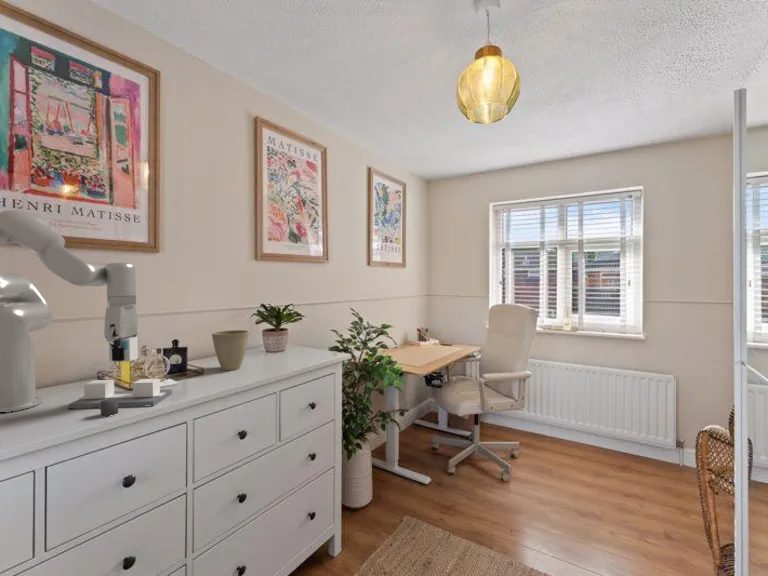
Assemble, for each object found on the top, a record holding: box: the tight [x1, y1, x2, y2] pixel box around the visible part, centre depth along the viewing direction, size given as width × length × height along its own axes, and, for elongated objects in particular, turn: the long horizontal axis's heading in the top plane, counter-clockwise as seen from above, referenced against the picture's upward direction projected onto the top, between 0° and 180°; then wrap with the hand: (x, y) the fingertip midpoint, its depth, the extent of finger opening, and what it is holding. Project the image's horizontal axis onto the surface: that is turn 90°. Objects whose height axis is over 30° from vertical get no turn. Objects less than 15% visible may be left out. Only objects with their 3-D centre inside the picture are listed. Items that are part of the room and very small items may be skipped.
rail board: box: [67, 378, 173, 409], centre depth 117 cm, size 24×12×6 cm, turn 96°
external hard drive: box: [160, 378, 179, 389], centre depth 133 cm, size 2×8×12 cm
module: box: [108, 336, 139, 363], centre depth 117 cm, size 6×5×7 cm
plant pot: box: [211, 329, 250, 371], centre depth 160 cm, size 15×15×16 cm
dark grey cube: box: [100, 399, 119, 417], centre depth 105 cm, size 4×4×4 cm
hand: (123, 358), depth 117 cm, fingers closed on module, 4 cm apart
